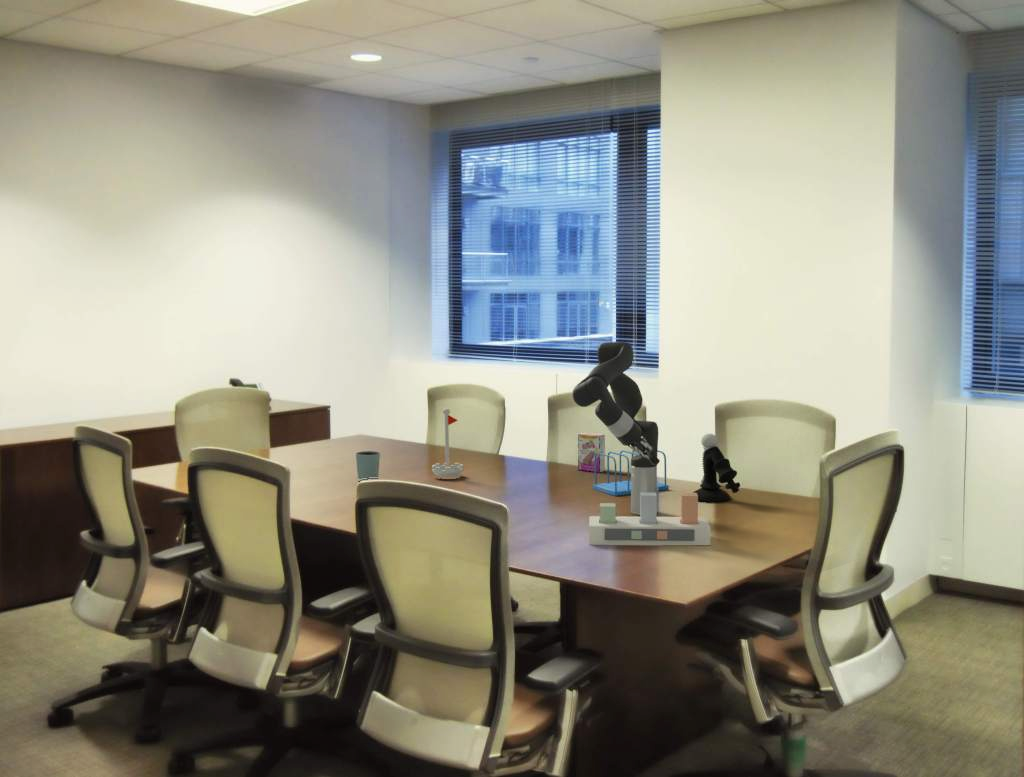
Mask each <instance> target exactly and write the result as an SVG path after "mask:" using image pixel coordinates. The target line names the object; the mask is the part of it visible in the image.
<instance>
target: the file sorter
mask: <svg viewBox="0 0 1024 777" xmlns="http://www.w3.org/2000/svg"><path fill="white" fill-rule="evenodd" d="M622 453H627V454H631V458H632V457H634V455H635V456H637V455H640V454H638V453H637V452H635V451H634V450H633V449H632V451H627V450H624V449H623V450H621V451H620V452H615V451H609V452H607V454H606V453H605V454H601V453H596V454H595V472H594V481H595V482H594V484H592V489H594V490H597V491H599V492H602V493H605V494H609V495H611V496H614V497H619V496H624V495H631V479H630V460H629V457H628V455H626V454H622ZM657 453H660V454H662V455H663V458H664V460H663V461H664V483H663V482H662V483H661V482H658V481H657V486H658V487H659V491H667V490H669V486H670V485H668V484H667V456H666V454H665V452H664V451H661V450H657ZM598 454H599V455H603V456H605V457H607V458H606V462H607V463H606V467H607V469H606V470H607V474H606V475H607V482H603V483H598V482H597V481H598V480H597V479H598V476H597V473H598V472H597V471H596V456H597V455H598ZM610 454H613V455H617V456H619V481H617V478H618V477H617V460H616V459H615V457H614V456H611V455H610ZM622 457H624V458H625V459H626V460H627V480H622ZM610 458H611V459H612V460H613V462H614V481H613V482H610ZM618 495H619V496H618Z"/></svg>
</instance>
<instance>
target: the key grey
mask: <svg viewBox="0 0 1024 777" xmlns="http://www.w3.org/2000/svg"><path fill="white" fill-rule="evenodd" d="M657 514H658V512H657V495H656V493H646V492H640V515H639V517H640V524H657V517H658V516H657Z"/></svg>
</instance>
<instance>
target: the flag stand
mask: <svg viewBox="0 0 1024 777" xmlns="http://www.w3.org/2000/svg"><path fill="white" fill-rule="evenodd" d="M450 412H451V410H450V409H449V408H448V407H445V408H443V410H442V414H444V439H445V440H444V444H445V445H444V446H445V447H444V448H445V449H444V450H445V451H444V452H445V453H444V454H445V462H443V464H442V465H441V463H439V462H438V463H434V464H432V466H431V470H432V472H433V473H434V476H435V475H436V476H439V477H458V476H460V477H461V473H462V472H463V468H464V466H463V464H462V463H461V464H460V463H459V462H454V463H453V464H451V462H450V444H449V443H450V442H449V441H450V438H449V436H450V435H449V432H450V431H449V429H450V428H449V426H450V425H451V424H453V423H456V422H458V421H459V420H458V419H457V418H455V417H452V416H451V415H450Z"/></svg>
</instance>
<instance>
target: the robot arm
mask: <svg viewBox="0 0 1024 777" xmlns="http://www.w3.org/2000/svg"><path fill="white" fill-rule="evenodd" d="M633 349H634V348H633V347H632V344H630V343H629V342H626V341H611V342H610V341H608V342H603V343H600V344H599V345H598V347H597V352H596V354H597V361H598V365H596V366H594V368H592V370H590V372H589V374H588V375H587V376H586V377H585V378H584V379H581V381H580V382H579V383H577V384H576V385H575V386H574V388H573V390H572V399H573V401H574V403H575V405H577V406H579V407H581V408H582V407H583V408H586V407H589V406H591V405H593V404H595V403H596V402H598V401H600V402H599V403H598V404H597V406H596V407H595V410H594V413H595V416H596V417H597V418H598V419H599V420H600V421H601V422H602V424H603V425H604V426H605V427H606V428H607V429H608V430H609V431H610V433H611V434H612V435H613V436H614V437H615V438H616V439H617V440H618V442H619V443H620V444H622V445H623V446H627V447H629V448H630V449H632V451H633V450H634V452H635V453H636V454H639V455H635V456H634V455H633V457H632V456H631V459H630V474H631V475H630V480H631V494H630V512H631V514H633V515H637V516H640V492H646V493H656V495H657V513H659V510H660V509H659V508H660V506H659V504H660V502H659V501H660V499H659V496H660V495H659V494H660V492H659V491H660V490H659V487H658V486H657V482H658V464H659V463H660V462H661V461H660V459H659V458H658V452H657V450H658V447H659V446H658V444H659V427H658V424H657V422H655V421H650V420H649V421H648V420H647V421H646V420H636V419H635V417H636V415H637V414H638V413H639V412H640V411H641V410H640V409H641V408H642V405H643V402H644V401H643V397H642V396H643V395H642V393H641V390H640V387H639V385H638V384H637V382H636V381H635V380H633V379H632V378H631V377H630V376H629V375H627V374H626V373H624V372H626V371H627V370H629V369H630V368H631V366H632V365H633V362H634V350H633ZM608 387H609V388H610V390H611V393H612V395H611V393H610V391H609V389H608Z"/></svg>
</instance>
